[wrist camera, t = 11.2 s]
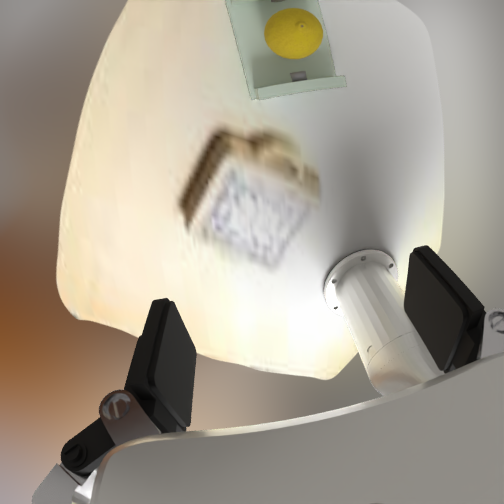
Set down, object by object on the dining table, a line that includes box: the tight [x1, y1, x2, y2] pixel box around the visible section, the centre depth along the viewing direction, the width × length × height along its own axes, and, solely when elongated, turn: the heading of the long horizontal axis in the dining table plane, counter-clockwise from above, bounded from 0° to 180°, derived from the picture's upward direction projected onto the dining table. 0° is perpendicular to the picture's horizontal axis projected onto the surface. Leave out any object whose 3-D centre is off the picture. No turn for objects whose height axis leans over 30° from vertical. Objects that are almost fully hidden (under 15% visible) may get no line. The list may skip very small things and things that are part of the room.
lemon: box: [264, 8, 323, 59], centre depth 23 cm, size 6×6×8 cm
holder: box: [225, 0, 347, 100], centre depth 25 cm, size 13×10×5 cm
